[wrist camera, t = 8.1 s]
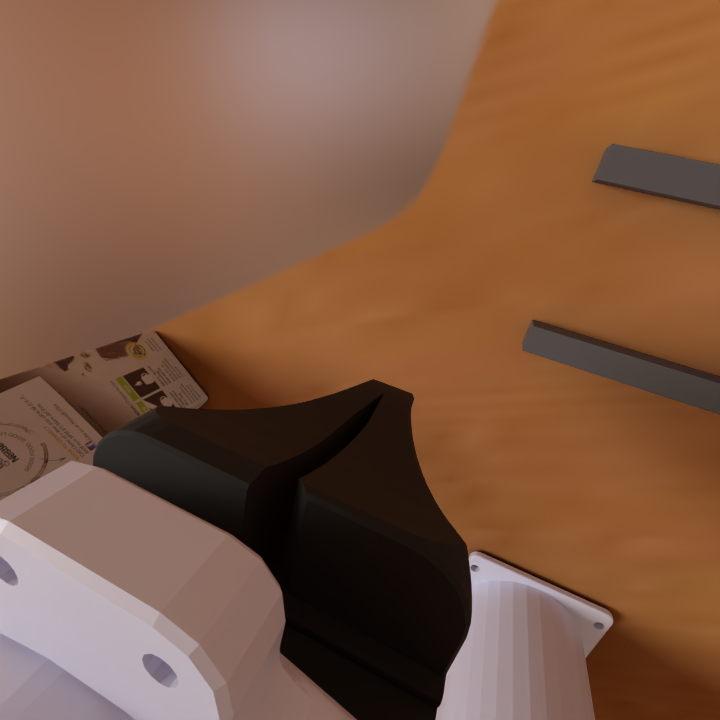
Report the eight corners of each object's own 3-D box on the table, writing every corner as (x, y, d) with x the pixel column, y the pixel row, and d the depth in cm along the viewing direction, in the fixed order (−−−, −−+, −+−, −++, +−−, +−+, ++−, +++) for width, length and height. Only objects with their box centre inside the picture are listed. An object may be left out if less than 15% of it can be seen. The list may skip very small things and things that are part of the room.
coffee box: (152, 325, 27) (-254, 451, 13) (212, 398, 27) (-117, 602, 13) (99, 391, 31) (-248, 540, 17) (151, 453, 32) (-145, 652, 17)
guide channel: (709, 402, 17) (722, 415, 16) (522, 342, 19) (523, 350, 18) (852, 197, 14) (881, 196, 13) (605, 148, 15) (612, 143, 14)
